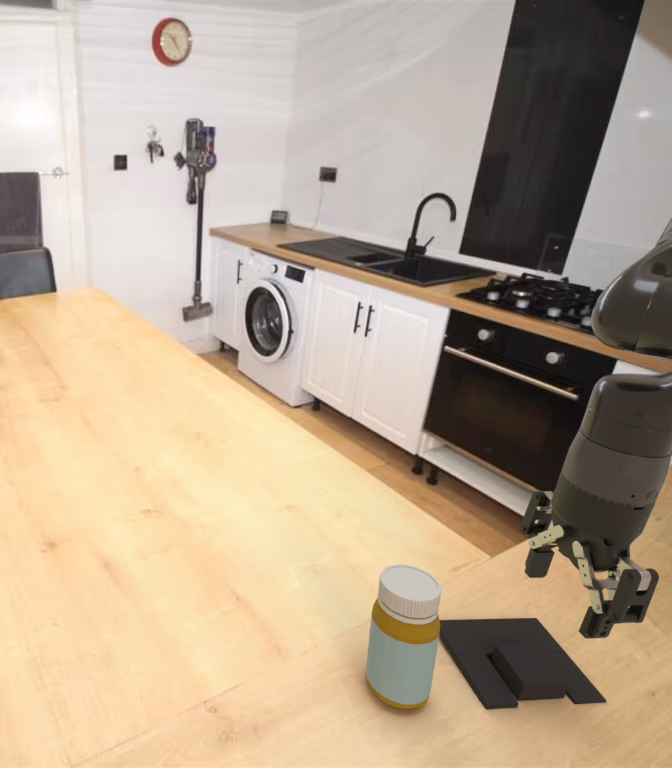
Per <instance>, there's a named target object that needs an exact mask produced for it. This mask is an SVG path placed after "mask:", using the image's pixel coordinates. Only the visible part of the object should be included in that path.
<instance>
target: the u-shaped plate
mask: <svg viewBox="0 0 672 768" xmlns="http://www.w3.org/2000/svg"><path fill="white" fill-rule="evenodd" d="M439 620H440V634H439V638H440V639H441V640H442V642H443V643H444V645H445V647H446V649H447V650H448V652H449V654H450V655H451V656H452V658H453V660H454V662H455V664H456V665H457V666H458V668H459V670H460V671H461V673H462V674H463V676H464V678H465V679H466V681H467V683H468V684H469V686H470V688H471V689H472V691H473V693H474V694H475V696H476V697H477V699H478V700H479V702H480V703H481V705H482V707H483V708H484V710H497V709H498V710H499V709H501V710H502V709H517V708H518V707H519V704H520V703H519V701H517V699H516V698H515V697H514V695H513V694H512V693H511V691H510V690H509V688H508V687H507V685H506V684H505V682H504V681H503V680H502V678H501V677H500V675H499V674H498V672H497V671H496V669H495V668H494V666H493V665H492V663H491V662H490V660H491V657H492V655H493V652H494V649H495V646H496V645H513V644H539V645H540V646H541V648H542V649H543V650H544V651H545V653H546V654H547V655H548V656H549V658H550V659H551V660H552V661H553V663H554V664H555V665H556V666H557V667H558V669H559V670H560V671H561V672H562V674H563V675H564V676H565V677H566V679H567V680H568V681H569V682H570V685H569V687H568V690H567V692H566V694H565V696H567V698H569V699H570V701H571V702H572V703H573V704H574V705H587V704H604V703H605V704H606V703H607V702H608V701H607V699H606V698H605V697H604V696H603V695H602V693H601V692H600V691H599V690H598V689H597V688H596V686H595V685H594V684H593V682H592V681H591V680H590V679H589V678H588V677H587V676H586V674H585V673H584V672H583V671H582V669H581V668H580V667H579V666H578V665H577V664H576V663H575V662H574V659H572V658H571V656H570V655H569V654H568V653H567V652H566V651H565V650H564V649H563V647H562V646H561V645H560V643H559V642H558V641H557V640H556V639H555V638H554V636H552V634H551V633H550V632H549V631H548V629H546V627H545V626H544V625H543V624H542V622H541V621H540V620H539V619H538V618H537V617H517V618H516V617H512V618H511V617H510V618H509V617H508V618H507V617H506V618H469V619H468V618H467V619H439Z"/></svg>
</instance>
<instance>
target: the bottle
mask: <svg viewBox="0 0 672 768" xmlns="http://www.w3.org/2000/svg"><path fill="white" fill-rule="evenodd" d="M377 588H378V590H377V591H378V593H377V598H376V599H375V601H374V602H373V603H372V610H371V617H370V626H369V634H368V635H369V636H368V645H367V654H366V662H365V663H366V664H365V679H366V683H367V686H368V687H369V689H370V691H372V693H374V695H375V696H376V697H378V699H380V700H381V701H382V702H384V703H386V704H387V705H389V706H392V707H394V708H397V709H401V710H409V709H410V710H412V709H418V708H420V707H422V706H423V705H425V704H426V703H427V702H428V700H429V699H430V694H431V691H432V685H433V678H434V672H435V666H436V659H437V653H438V648H439V647H438V645H439V640H440V636H439V634H440V620H441V619H440V616H439V610H440V609H439V608H440V604H441V597H442V586H441V584H440V582H439V580H438V579H437V578H436V577H435V576H434V575H433V574H432V573H430V572H428V571H427V570H425V569H423V568H420V567H418V566H415V565H411V564H404V563H398V564H397V563H396V564H391V565H388V566H386V567H384V568H383V569H382V570H381V572H380V574H379V581H378V587H377Z"/></svg>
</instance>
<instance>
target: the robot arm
mask: <svg viewBox="0 0 672 768" xmlns="http://www.w3.org/2000/svg"><path fill="white" fill-rule="evenodd" d="M590 324H591V330H592V332H593V334H594V336H595V338H596V339H597V340H598V341H599V342H600V343H601V344H602V345H605V346H606V347H608V348H610V349H611V348H612V349H614V350H617V351H618V350H619V351H623V352H628V353H632V354H633V353H636V354H639V355H645V356H649V357H655V358H659V359H662V360H663V359H664V360H668V361H672V217H671V218H670V220H669V221H668V223H667V224H666V227H665V228H664V230H663V231H662V233H661V235H660V236H659V238H658V240H657V242H656V244H655V246H654V247H653V248H652V249H651V250H649V251H648V252H647V253H646V254H645V255H644V256H642V257H641V258H640V259H638V260H636V261H635V262H634V263H632V264H631V265H629V267H627V268H625V269H624V270H623V271H622V272H621V273H620V274H617V276H616V277H615V278H614V279H612V280H611V282H610V283H609V284H607V286H606V287H605V288H604V289H603V290H602V292H601V293H600V295H599V297H598V298H597V300H596V301H595V304H594V306H593V308H592V312H591V316H590ZM671 460H672V370H670V371H668V372H664V373H652V374H651V373H649V374H648V373H632V372H631V373H624V372H623V373H620V372H619V373H611V374H607V375H604V376H602V377H601V378H599V379H598V380H597V382H596V383H595V384H594V386H593V388H592V391H591V393H590V395H589V400H588V401H587V405H586V408H585V411H584V414H583V417H582V419H581V423H580V426H579V427H578V430H577V433H576V435H575V436H574V438H573V440H572V442H571V444H570V445H569V448H568V451H567V453H566V455H565V459H564V462H563V465H562V467H561V471H560V473H559V476H558V480H557V483H556V485H555V489H554V490H539V491H538V490H535V491H533V492H532V494H531V497H530V499H529V502H528V505H527V507H526V509H525V512H524V515H523V517H522V520H521V522H520V525H519V530H520V532H521V533H522V535H527V537H528V546H529V547H530V548H529V550H528V553H527V557H526V559H525V562H524V563H525V564H524V565H525V566H524V567H525V569H524V574H525V575H527V577H528V578H530V579H542V578H546V577H547V575H548V572H549V569H550V567H551V564H552V562H553V559H554V556H555V551H554V550H553V549H557V548H558V550H557V551H558V552H559V553H560V554H561V555H562V556H563V557H565V558H567V559H568V560H569V561H570V563H571V564H572V565H573V566H574V567H575V568H576V570H578V571H579V574H580V580H581V584H582V586H583V587H584V588H586V589H587V590H588V596H589V601H590V605H589V606H588V607H587V609H586V612H585V615H584V617H583V619H582V621H581V624H580V627H579V629H578V633H579V634H580V635H581V636H582V637H583V638H584V639H587V640H589V639H606V638H608V637H609V636H610V634H611V631H612V630H613V627H614V625H617V624H641V623H643V622H644V619H645V617H646V614H647V612H648V610H649V606H650V604H651V602H652V598H653V596H654V594H655V590H656V588H657V585H658V583H659V580H660V575H659V573H658V571H657V570H656V569H654V568H649V567H648V568H644V567H642V566H640V564H638V563H636V562H635V561H634V560H632V559H631V553H630V552H631V551H630V549H631V545H632V544H633V542H635V540H637V539H638V538H639V537H640V536H641V535H642V534H643V533H644V530H645V527H646V526H647V523H648V521H649V519H650V516H651V514H652V512H653V509H654V507H655V506H656V502H657V501H658V498H659V495H660V494H661V491H662V489H663V487H664V485H665V482H666V480H667V477H668V474H669V470H670V465H671ZM536 521H537V522H536ZM535 522H536V523H535ZM551 523H552V526H551V528H550V525H551ZM604 572H607V578H599V579H598V578H597V577H596V573H604ZM604 589H606V590H607V595H608V599H605V596H604V592H603V591H604Z"/></svg>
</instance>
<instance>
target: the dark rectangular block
mask: <svg viewBox="0 0 672 768" xmlns="http://www.w3.org/2000/svg"><path fill="white" fill-rule="evenodd" d="M489 661H490V662H491V663H492V665H493V666H494V668H495V669H496V671H497V672H498V674H499V675H500V677H501V678H502V680H503V681H504V682H505V684H506V685H507V687H508V688H509V690H510V691H511V693H512V694H513V696H514V697H515V699H516V700H517V701H518V702H524V701H526V702H527V701H539V700H540V701H543V700H544V701H545V700H560V699H561V700H562V699H564V698H565V697H566V692H567V690H568V687H569V685H570V682H569V681H568V680H567V679H566V677H565V676H564V675H563V674H562V672H561V671H560V670H559V669H558V667H557V666H556V665H555V664H554V663H553V661H552V660H551V659H550V658H549V656H548V655H547V654H546V653H545V651H544V650H543V649H542V648H541V646H540V645H539V644H513V645H496V646H495V649H494V652H493V655H492V657H491V659H489Z"/></svg>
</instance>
